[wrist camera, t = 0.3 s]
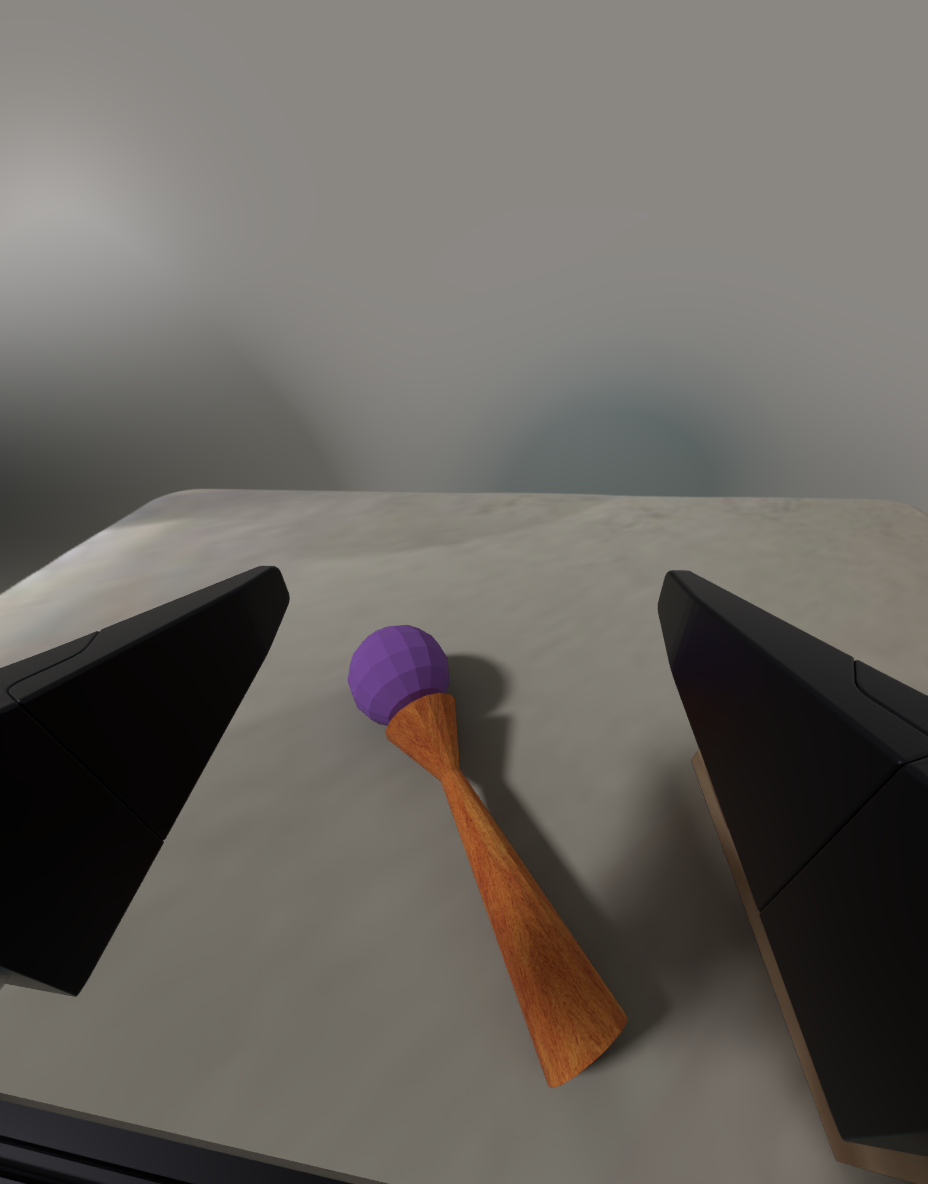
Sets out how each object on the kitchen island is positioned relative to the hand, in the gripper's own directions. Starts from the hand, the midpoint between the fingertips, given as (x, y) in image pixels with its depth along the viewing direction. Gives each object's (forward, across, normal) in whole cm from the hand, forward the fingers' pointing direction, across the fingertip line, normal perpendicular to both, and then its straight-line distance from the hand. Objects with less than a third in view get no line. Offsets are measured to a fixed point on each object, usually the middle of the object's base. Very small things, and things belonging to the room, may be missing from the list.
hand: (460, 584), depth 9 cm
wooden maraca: (+3, +2, +16) cm, 17 cm away
